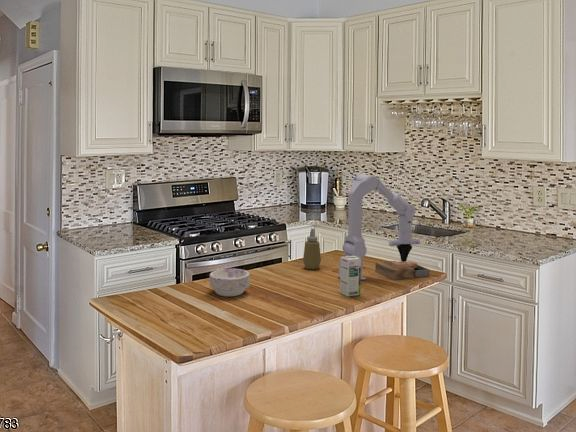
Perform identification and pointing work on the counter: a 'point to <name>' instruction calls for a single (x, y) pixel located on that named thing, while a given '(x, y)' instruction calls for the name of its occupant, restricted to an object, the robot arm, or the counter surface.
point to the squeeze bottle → (312, 252)
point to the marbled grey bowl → (229, 281)
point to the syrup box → (350, 276)
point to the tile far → (412, 264)
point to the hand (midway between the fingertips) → (403, 261)
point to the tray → (420, 272)
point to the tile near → (400, 265)
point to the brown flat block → (393, 271)
